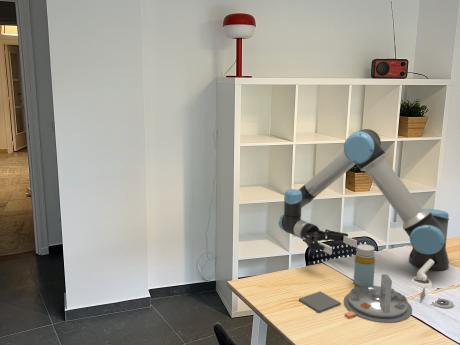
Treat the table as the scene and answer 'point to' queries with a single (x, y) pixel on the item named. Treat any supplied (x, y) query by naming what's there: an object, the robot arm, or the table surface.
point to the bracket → (438, 301)
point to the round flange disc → (378, 300)
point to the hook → (423, 275)
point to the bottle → (364, 265)
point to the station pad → (319, 302)
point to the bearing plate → (391, 320)
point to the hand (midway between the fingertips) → (344, 247)
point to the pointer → (350, 315)
